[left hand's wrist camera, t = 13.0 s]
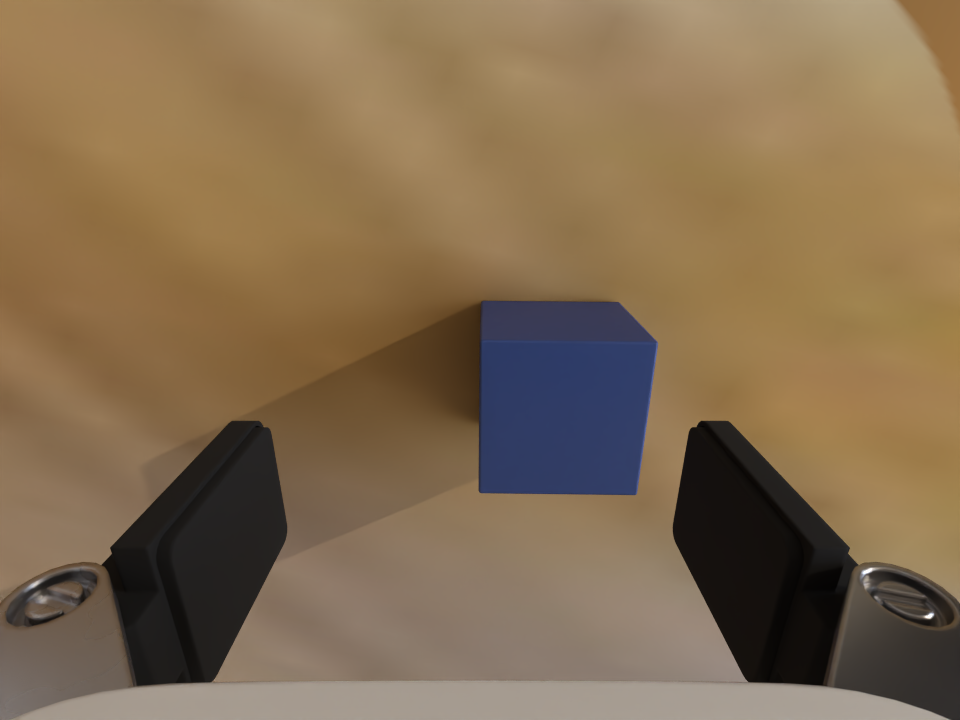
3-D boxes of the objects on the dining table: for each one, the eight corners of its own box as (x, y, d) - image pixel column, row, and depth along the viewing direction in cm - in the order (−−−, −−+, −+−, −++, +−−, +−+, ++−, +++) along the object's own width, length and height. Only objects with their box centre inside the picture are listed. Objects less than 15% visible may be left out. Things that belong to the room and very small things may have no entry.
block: (480, 425, 20) (478, 494, 16) (481, 300, 18) (480, 340, 14) (605, 427, 20) (637, 496, 16) (619, 301, 18) (658, 342, 14)
